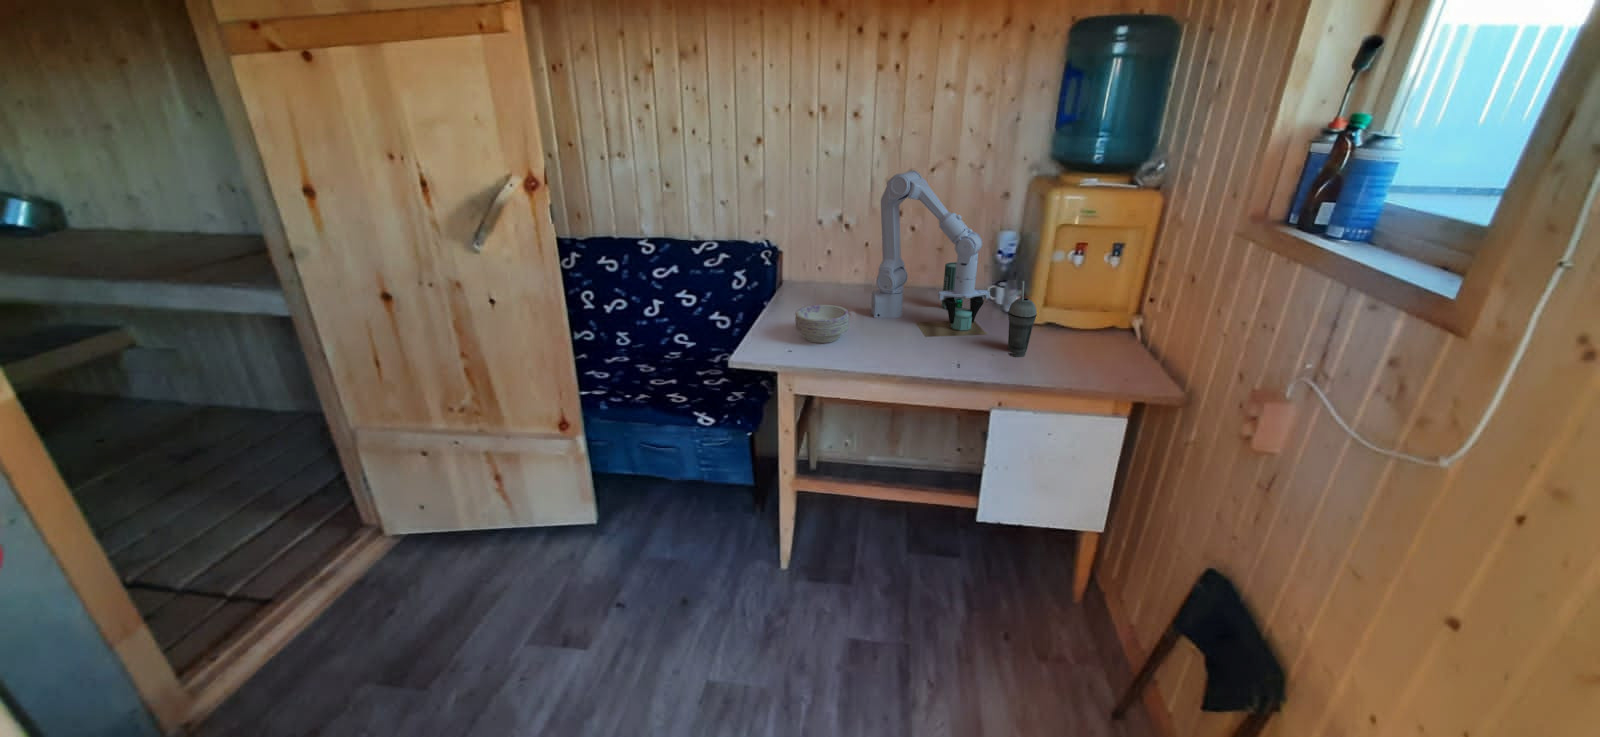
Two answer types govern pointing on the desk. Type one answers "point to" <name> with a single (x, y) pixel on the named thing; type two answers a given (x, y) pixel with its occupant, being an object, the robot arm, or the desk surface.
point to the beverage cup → (1020, 325)
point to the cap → (962, 319)
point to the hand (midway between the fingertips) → (961, 322)
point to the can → (950, 282)
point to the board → (947, 329)
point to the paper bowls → (822, 322)
